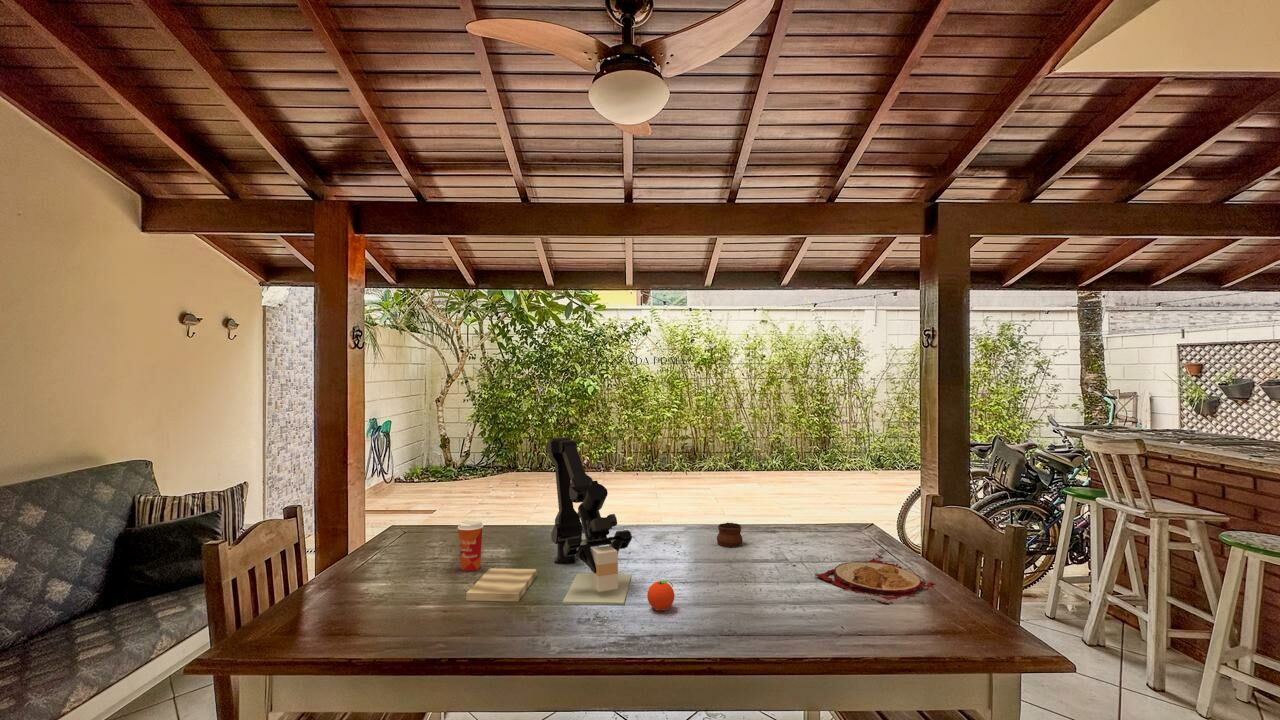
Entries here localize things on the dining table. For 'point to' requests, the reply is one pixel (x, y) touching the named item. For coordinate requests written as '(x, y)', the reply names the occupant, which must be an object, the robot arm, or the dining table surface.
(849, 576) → the plate with food
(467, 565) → the paper cup
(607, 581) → the carton
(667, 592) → the clementine
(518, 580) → the board
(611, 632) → the dining table surface
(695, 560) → the dining table surface
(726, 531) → the ceramic pot
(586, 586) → the mat
